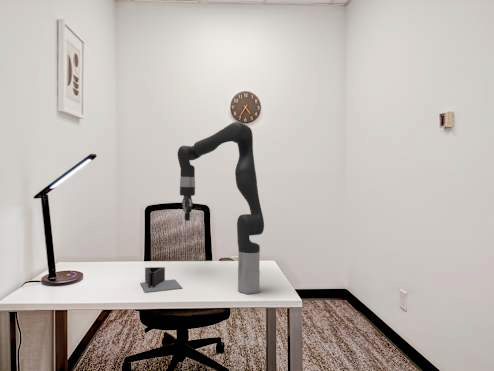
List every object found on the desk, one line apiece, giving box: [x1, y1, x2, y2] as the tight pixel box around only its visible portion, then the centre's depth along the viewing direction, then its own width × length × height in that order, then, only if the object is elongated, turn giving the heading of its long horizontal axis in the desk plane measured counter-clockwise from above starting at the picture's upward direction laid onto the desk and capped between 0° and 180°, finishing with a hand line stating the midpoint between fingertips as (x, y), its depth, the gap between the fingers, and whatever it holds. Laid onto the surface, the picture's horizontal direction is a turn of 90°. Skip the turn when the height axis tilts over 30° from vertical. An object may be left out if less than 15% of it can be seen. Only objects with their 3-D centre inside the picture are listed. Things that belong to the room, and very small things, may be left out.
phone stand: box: [144, 266, 166, 288], centre depth 167 cm, size 9×6×12 cm
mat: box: [140, 279, 183, 294], centre depth 165 cm, size 14×16×1 cm
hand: (187, 220), depth 185 cm, fingers closed
